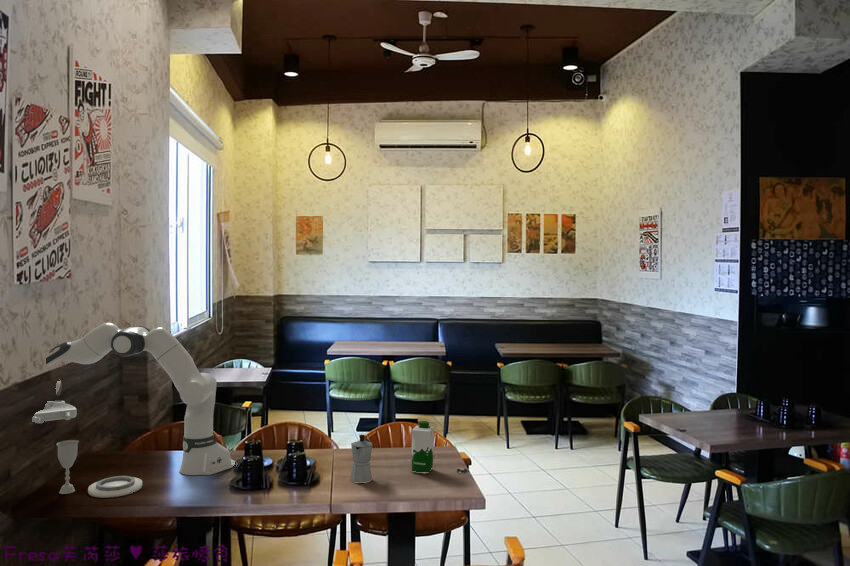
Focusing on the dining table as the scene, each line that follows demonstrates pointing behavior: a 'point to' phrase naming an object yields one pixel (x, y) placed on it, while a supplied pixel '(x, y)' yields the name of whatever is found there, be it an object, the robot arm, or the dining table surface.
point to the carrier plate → (115, 486)
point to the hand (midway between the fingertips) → (55, 419)
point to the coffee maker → (361, 460)
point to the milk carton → (422, 447)
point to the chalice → (67, 461)
